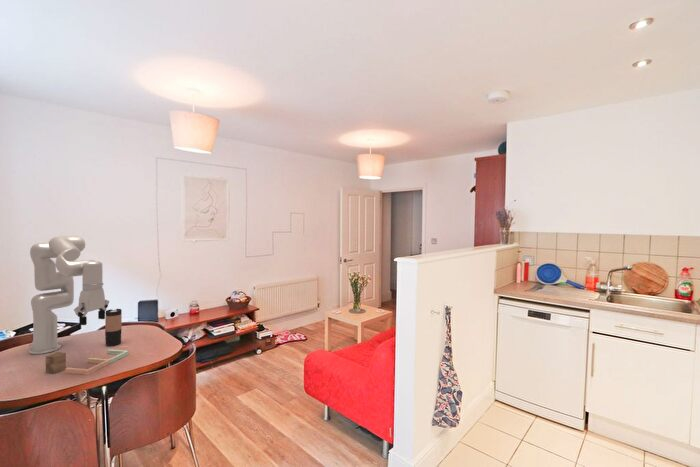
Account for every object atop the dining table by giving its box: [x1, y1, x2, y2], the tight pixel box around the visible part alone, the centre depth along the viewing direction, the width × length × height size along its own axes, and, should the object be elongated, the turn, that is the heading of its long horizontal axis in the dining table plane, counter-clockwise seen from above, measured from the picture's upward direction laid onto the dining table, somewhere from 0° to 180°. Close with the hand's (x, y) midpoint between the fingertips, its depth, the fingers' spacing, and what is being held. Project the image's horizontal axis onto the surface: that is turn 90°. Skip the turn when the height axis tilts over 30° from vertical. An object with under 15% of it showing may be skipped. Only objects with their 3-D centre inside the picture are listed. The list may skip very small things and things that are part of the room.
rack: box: [64, 348, 130, 376], centre depth 159 cm, size 12×24×2 cm, turn 174°
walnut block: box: [45, 351, 67, 375], centre depth 150 cm, size 5×5×8 cm
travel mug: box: [104, 308, 123, 347], centre depth 183 cm, size 8×8×20 cm
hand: (92, 321), depth 152 cm, fingers open, 9 cm apart
